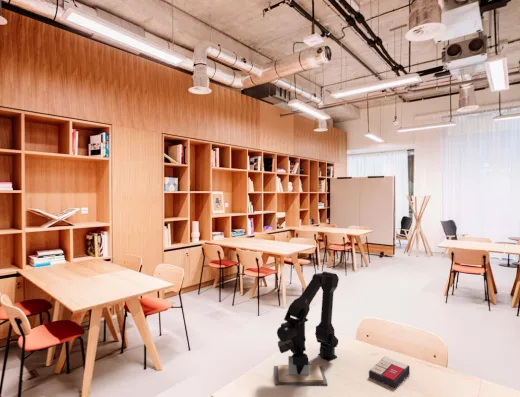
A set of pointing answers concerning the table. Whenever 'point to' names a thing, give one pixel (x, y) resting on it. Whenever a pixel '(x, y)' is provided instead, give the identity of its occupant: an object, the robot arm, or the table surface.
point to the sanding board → (300, 376)
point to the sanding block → (293, 368)
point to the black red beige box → (389, 372)
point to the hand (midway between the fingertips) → (298, 370)
